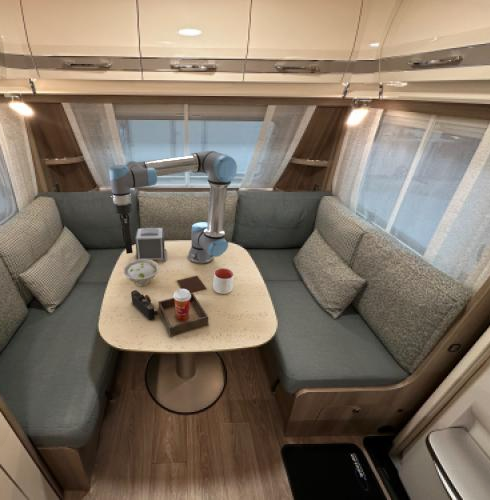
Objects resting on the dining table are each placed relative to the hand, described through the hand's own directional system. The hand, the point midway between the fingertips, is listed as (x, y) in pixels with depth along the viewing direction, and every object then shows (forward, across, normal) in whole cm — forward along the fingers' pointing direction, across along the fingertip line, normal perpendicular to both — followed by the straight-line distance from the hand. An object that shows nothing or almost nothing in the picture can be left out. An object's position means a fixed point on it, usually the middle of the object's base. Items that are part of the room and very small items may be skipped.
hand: (127, 245), depth 125 cm
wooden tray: (+27, +26, +19) cm, 42 cm away
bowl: (+27, -6, +6) cm, 29 cm away
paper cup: (+27, +26, +19) cm, 42 cm away
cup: (+27, +12, +45) cm, 54 cm away
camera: (+27, +15, +4) cm, 31 cm away
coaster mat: (+27, +4, +30) cm, 41 cm away
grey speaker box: (+27, -32, +15) cm, 45 cm away
